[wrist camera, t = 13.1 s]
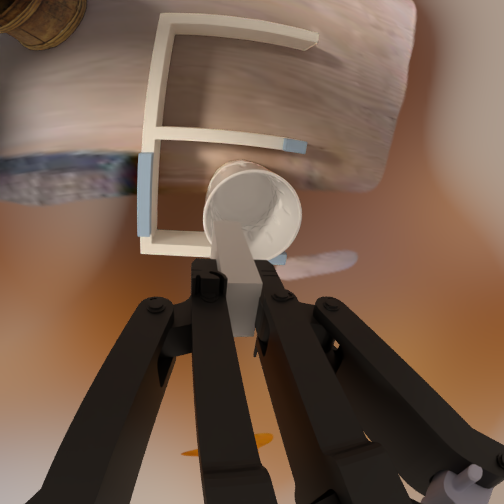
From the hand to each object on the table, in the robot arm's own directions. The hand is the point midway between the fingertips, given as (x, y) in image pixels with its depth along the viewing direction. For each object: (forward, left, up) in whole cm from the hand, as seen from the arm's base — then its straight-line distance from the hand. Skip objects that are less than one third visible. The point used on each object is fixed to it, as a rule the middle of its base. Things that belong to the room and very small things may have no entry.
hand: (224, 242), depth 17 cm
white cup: (+3, 0, -16) cm, 16 cm away
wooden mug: (-24, +22, -16) cm, 36 cm away
